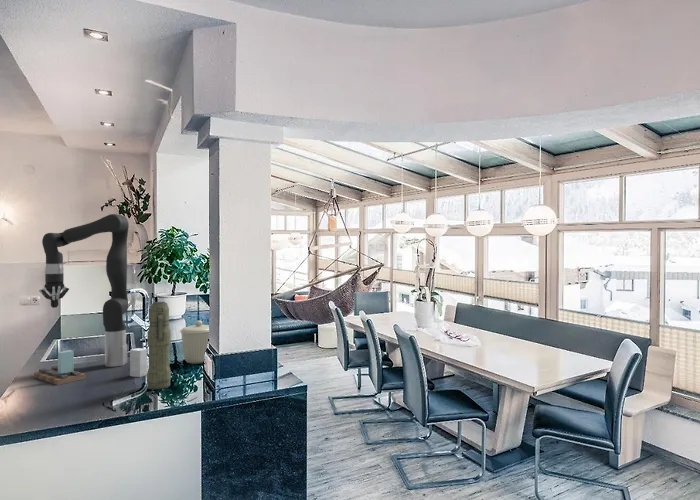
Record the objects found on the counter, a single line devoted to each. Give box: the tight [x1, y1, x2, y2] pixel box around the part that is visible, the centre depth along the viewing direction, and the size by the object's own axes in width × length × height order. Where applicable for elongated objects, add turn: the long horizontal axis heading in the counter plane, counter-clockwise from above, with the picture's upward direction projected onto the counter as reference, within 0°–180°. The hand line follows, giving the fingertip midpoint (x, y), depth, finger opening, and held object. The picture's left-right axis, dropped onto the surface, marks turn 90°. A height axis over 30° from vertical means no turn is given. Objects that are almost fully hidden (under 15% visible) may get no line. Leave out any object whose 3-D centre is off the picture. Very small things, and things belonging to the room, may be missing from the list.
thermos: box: [146, 301, 172, 390], centre depth 177 cm, size 9×12×35 cm
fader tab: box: [57, 349, 75, 375], centre depth 186 cm, size 4×5×10 cm
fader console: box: [33, 365, 86, 386], centre depth 189 cm, size 22×11×3 cm, turn 59°
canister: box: [179, 319, 210, 365], centre depth 217 cm, size 18×18×21 cm
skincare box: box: [129, 347, 148, 378], centre depth 192 cm, size 6×4×12 cm
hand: (54, 307), depth 211 cm, fingers closed
